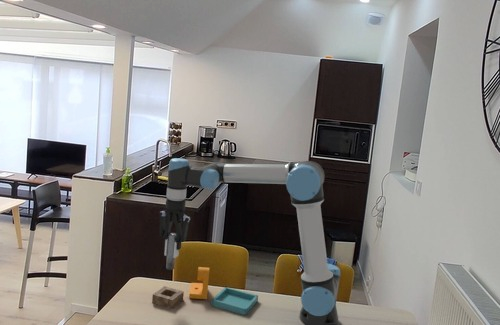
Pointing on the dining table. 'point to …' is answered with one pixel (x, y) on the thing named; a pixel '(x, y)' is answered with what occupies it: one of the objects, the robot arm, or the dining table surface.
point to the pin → (171, 252)
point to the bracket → (200, 284)
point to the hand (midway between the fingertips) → (171, 255)
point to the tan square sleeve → (167, 297)
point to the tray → (235, 300)
